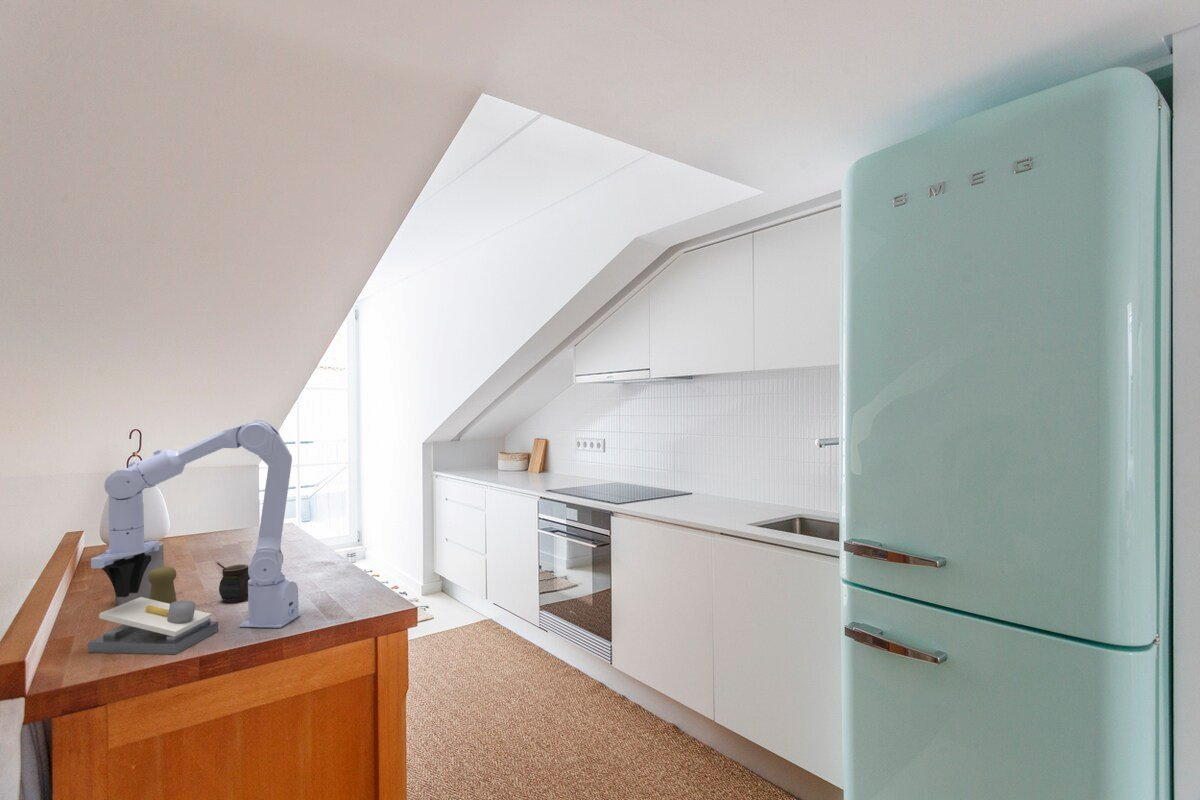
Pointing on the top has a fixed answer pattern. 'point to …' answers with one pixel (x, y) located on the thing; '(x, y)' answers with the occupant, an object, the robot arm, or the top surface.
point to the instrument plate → (157, 615)
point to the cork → (162, 584)
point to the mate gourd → (234, 583)
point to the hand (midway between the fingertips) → (127, 594)
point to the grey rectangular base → (149, 640)
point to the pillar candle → (145, 577)
